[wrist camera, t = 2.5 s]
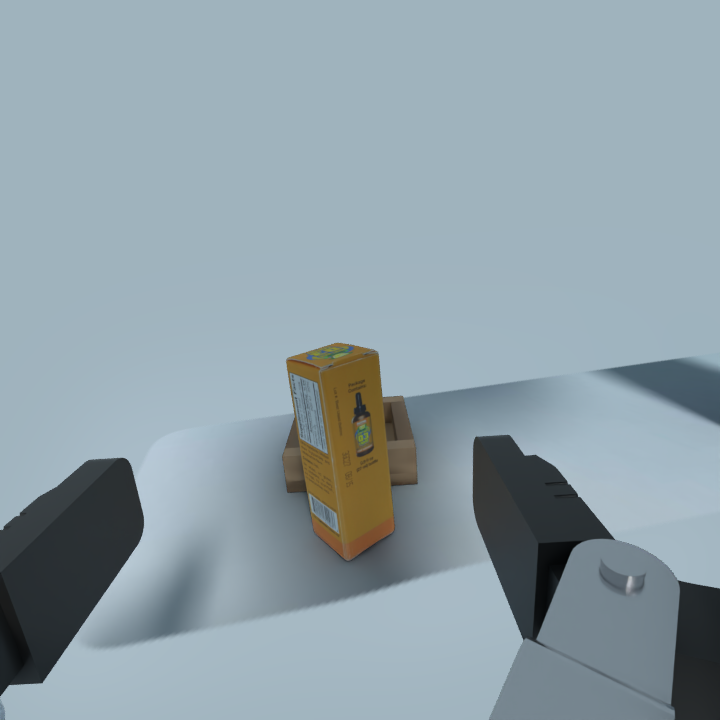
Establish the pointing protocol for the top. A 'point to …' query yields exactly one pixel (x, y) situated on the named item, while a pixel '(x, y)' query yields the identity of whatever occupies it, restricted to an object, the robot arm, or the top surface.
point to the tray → (397, 446)
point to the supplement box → (343, 445)
